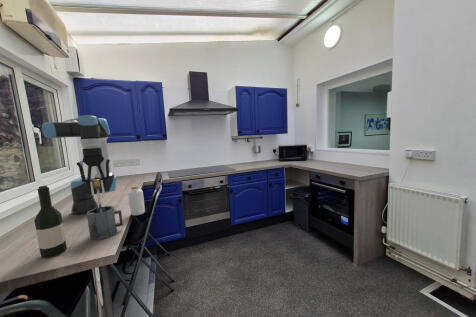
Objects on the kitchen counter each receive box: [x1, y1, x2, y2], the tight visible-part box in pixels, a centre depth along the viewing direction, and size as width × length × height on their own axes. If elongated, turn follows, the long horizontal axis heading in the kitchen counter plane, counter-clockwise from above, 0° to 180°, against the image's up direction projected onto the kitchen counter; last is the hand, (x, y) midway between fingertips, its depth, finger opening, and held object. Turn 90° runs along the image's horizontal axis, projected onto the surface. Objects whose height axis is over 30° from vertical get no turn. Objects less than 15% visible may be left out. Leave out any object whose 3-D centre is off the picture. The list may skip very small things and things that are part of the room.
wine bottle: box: [33, 185, 68, 260], centre depth 84 cm, size 8×8×30 cm
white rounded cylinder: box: [127, 185, 146, 216], centre depth 125 cm, size 8×8×18 cm
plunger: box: [92, 179, 103, 213], centre depth 98 cm, size 7×7×19 cm
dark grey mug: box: [86, 205, 124, 241], centre depth 100 cm, size 12×14×13 cm
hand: (98, 194), depth 98 cm, fingers closed on plunger, 4 cm apart
